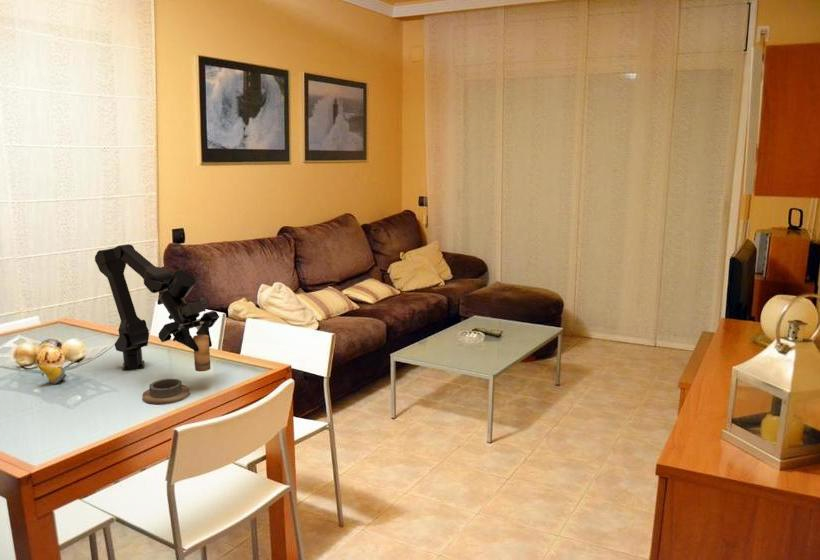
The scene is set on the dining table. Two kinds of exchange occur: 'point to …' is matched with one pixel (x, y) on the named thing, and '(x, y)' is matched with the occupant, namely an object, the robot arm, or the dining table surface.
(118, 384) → the dining table surface
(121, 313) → the robot arm
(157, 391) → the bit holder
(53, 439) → the dining table surface
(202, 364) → the handle
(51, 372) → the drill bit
